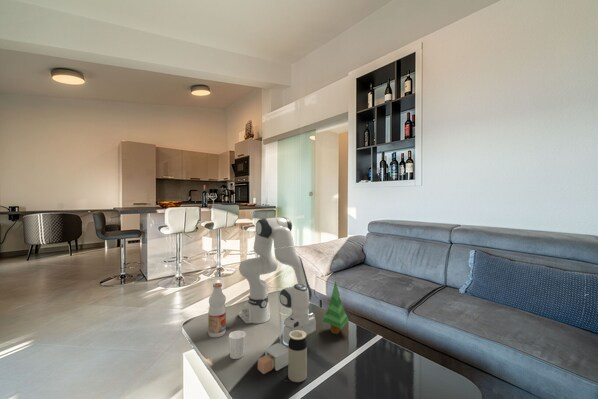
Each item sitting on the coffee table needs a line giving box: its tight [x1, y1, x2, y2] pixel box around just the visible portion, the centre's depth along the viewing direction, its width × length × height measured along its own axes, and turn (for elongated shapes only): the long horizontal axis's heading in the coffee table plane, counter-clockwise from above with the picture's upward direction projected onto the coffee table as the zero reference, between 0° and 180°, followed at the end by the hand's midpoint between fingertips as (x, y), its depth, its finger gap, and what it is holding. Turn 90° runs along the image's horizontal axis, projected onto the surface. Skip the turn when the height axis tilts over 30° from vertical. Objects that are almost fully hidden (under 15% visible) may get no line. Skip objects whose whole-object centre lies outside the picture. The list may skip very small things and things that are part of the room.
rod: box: [268, 345, 288, 370], centre depth 123 cm, size 4×18×4 cm, turn 133°
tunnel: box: [264, 342, 288, 371], centre depth 120 cm, size 9×8×6 cm
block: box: [257, 355, 273, 375], centre depth 115 cm, size 4×4×4 cm
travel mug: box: [287, 330, 308, 383], centre depth 111 cm, size 8×8×18 cm
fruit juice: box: [207, 282, 227, 338], centre depth 147 cm, size 9×9×28 cm
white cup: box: [228, 330, 246, 360], centre depth 126 cm, size 8×8×10 cm
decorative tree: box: [321, 279, 350, 335], centre depth 149 cm, size 14×16×30 cm
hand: (300, 345), depth 130 cm, fingers closed
